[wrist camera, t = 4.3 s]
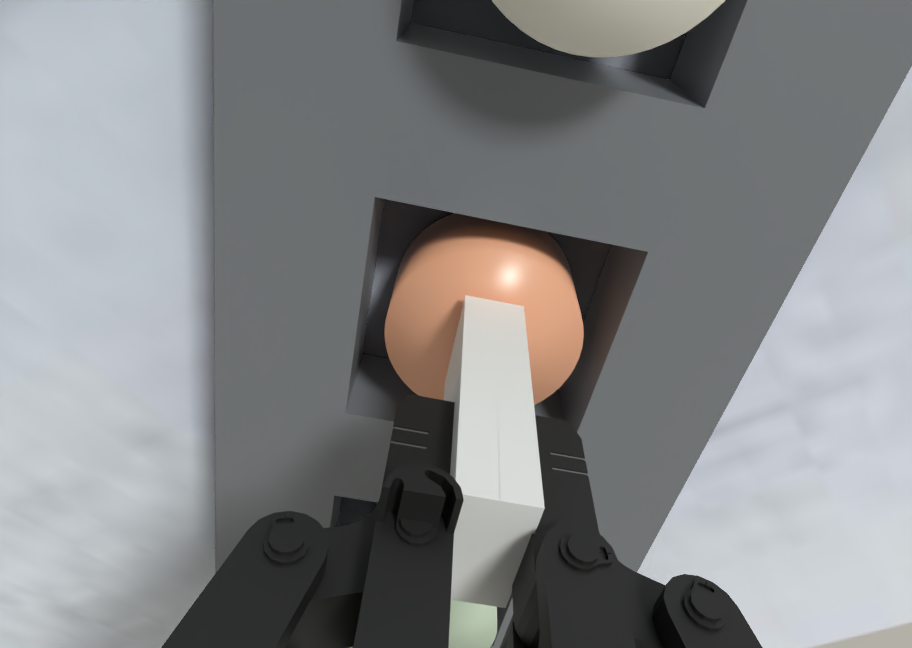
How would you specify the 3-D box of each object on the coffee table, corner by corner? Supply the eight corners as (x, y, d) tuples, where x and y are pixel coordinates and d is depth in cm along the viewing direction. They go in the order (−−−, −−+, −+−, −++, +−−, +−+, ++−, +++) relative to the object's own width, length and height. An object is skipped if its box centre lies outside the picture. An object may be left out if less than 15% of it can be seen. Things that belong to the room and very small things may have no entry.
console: (241, 564, 27) (215, 631, 24) (273, -546, 11) (209, -688, 8) (566, 615, 28) (575, 685, 25) (1022, -336, 12) (1168, -408, 9)
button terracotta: (385, 346, 20) (372, 398, 18) (410, 191, 17) (400, 230, 15) (545, 376, 21) (552, 430, 18) (595, 229, 18) (610, 271, 16)
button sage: (342, 591, 24) (327, 659, 22) (358, 495, 21) (343, 561, 19) (478, 613, 24) (478, 681, 22) (511, 520, 22) (514, 588, 19)
